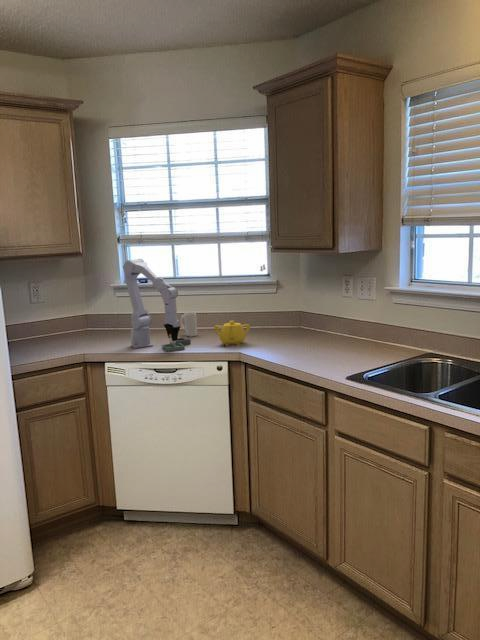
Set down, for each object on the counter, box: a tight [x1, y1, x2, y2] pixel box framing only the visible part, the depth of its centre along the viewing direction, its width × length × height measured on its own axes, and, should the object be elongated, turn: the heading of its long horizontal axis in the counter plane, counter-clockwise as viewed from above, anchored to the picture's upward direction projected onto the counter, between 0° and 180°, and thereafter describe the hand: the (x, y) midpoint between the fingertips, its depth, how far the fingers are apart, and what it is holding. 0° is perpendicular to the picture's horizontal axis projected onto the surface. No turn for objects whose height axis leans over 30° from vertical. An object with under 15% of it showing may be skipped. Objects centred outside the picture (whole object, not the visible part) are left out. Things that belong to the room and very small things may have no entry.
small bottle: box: [168, 334, 176, 348], centre depth 268 cm, size 3×3×7 cm
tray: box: [161, 343, 186, 353], centre depth 269 cm, size 9×9×2 cm
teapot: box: [214, 320, 251, 347], centre depth 273 cm, size 14×14×12 cm
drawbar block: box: [176, 336, 192, 346], centre depth 279 cm, size 9×7×2 cm
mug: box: [179, 312, 198, 337], centre depth 300 cm, size 10×7×12 cm, turn 63°
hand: (172, 339), depth 268 cm, fingers open, 7 cm apart
